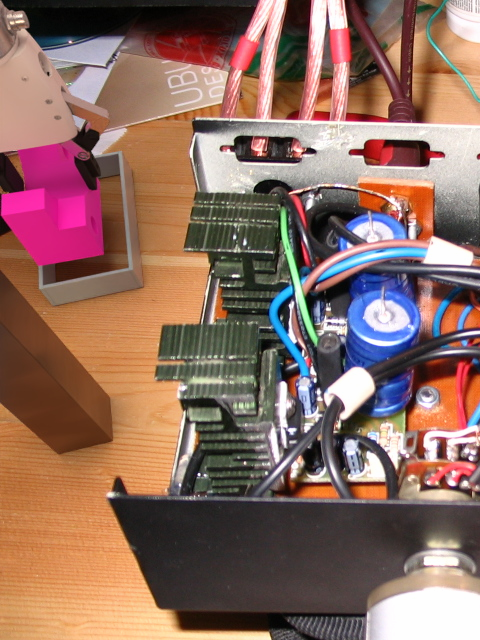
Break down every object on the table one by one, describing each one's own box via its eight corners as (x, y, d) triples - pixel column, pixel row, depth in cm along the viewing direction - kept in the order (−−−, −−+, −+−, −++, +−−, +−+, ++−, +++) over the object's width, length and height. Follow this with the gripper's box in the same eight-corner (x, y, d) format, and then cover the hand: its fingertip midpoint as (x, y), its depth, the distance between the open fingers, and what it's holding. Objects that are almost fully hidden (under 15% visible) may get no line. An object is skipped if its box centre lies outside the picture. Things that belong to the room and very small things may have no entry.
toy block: (103, 254, 80) (72, 204, 74) (38, 266, 79) (1, 215, 72) (97, 151, 87) (69, 97, 80) (37, 160, 86) (3, 106, 79)
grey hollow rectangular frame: (52, 306, 82) (38, 289, 79) (49, 185, 90) (36, 166, 87) (143, 286, 83) (132, 269, 81) (131, 169, 92) (121, 150, 89)
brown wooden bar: (57, 454, 73) (-130, 288, 51) (56, 409, 76) (-124, 231, 53) (113, 440, 74) (-48, 271, 52) (109, 396, 77) (-45, 216, 54)
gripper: (70, -8, 68) (142, 147, 84) (-151, 19, 65) (-34, 175, 80) (74, 47, 65) (148, 198, 80) (-160, 78, 61) (-35, 230, 77)
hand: (56, 185), depth 80 cm, fingers closed on toy block, 6 cm apart
